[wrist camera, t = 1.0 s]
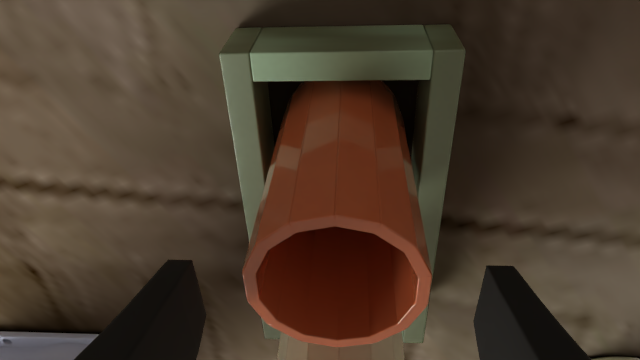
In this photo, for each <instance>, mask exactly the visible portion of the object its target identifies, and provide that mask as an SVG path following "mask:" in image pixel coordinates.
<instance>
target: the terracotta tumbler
mask: <svg viewBox="0 0 640 360" xmlns="http://www.w3.org/2000/svg"><path fill="white" fill-rule="evenodd" d="M242 276H243V281H244V287H245V292H246V298H247V301H248V303H249V304H250V305H251V306H252V307H253V308H254V310H255V311H256V312H257V313H258V314H259V315H260V316H261V318H262V319H263V320H264V321H265V322H266V323H267V324H268V325H269V326H271V327H273V328H275V329H277V330H279V331H281V332H282V333H284V334H286V335H288V336H290V337H292V338H294V339H296V340H298V341H301V342H307V343H313V344H318V345H324V346H330V347H348V346H357V345H366V344H374V343H377V342H379V341H381V340H384V339H386V338H388V337H390V336H392V335H395V334H397V333H399V332H401V331H403V330H406V328H408V327H409V326H410V325H411V324H412V323H413V322H414V320H415V319H416V318H417V317H418V316H419V315H420V314H421V313H422V311H423V310H424V309H425V308H426V307H427V305H428V303H429V296H430V290H431V283H432V271H431V265H430V260H429V255H428V250H427V244H426V239H425V234H424V228H423V223H422V218H421V212H420V207H419V202H418V196H417V191H416V186H415V180H414V175H413V170H412V164H411V159H410V154H409V148H408V143H407V138H406V132H405V127H404V122H403V116H402V114H401V112H400V108H399V105H398V102H397V100H396V98H395V96H394V94H393V93H392V91H391V90H390V89H389V87H388V86H387V85H386V84H385V83H384V82H382V81H381V80H362V81H303V82H302V83H301V84H300V85H299V86H298V87H297V88H296V90H295V91H294V92H293V94H292V96H291V97H290V100H289V102H288V105H287V108H286V111H285V113H284V115H283V118H282V122H281V126H280V130H279V133H278V137H277V141H276V145H275V149H274V152H273V156H272V160H271V164H270V167H269V171H268V175H267V179H266V182H265V186H264V190H263V194H262V197H261V201H260V205H259V209H258V213H257V216H256V220H255V224H254V228H253V231H252V235H251V239H250V243H249V246H248V250H247V254H246V258H245V261H244V265H243V269H242Z"/></svg>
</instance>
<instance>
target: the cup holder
mask: <svg viewBox="0 0 640 360" xmlns="http://www.w3.org/2000/svg"><path fill="white" fill-rule="evenodd" d="M465 53H466V50H465V48H464V47H463V45H462V43H461V41H460V40H459V38H458V36H457V34H456V33H455V31H454V29H453V27H452V26H451V25H450V24H444V25H424V26H423V25H376V26H317V27H264V28H236V29H235V30H234V32H233V33H232V35H231V36H230V38H229V39H228V41H227V42H226V44H225V45H224V47H223V48H222V50H221V51H220V53H219V57H220V63H221V69H222V76H223V82H224V88H225V94H226V101H227V107H228V113H229V119H230V125H231V132H232V138H233V144H234V150H235V156H236V163H237V169H238V175H239V181H240V188H241V194H242V200H243V206H244V212H245V219H246V225H247V231H248V237H249V243H250V239H251V235H252V231H253V228H254V224H255V220H256V216H257V213H258V209H259V205H260V201H261V197H262V194H263V190H264V186H265V182H266V179H267V175H268V171H269V167H270V164H271V160H272V156H273V152H274V149H275V146H274V136H273V127H272V117H271V107H270V98H269V88H268V81H362V80H418V89H417V100H416V111H415V122H414V134H413V145H412V156H411V164H412V170H413V175H414V180H415V186H416V191H417V196H418V202H419V207H420V212H421V218H422V223H423V228H424V234H425V239H426V244H427V250H428V255H429V260H430V265H431V271H432V279H433V272H434V265H435V258H436V251H437V244H438V238H439V231H440V224H441V217H442V210H443V203H444V197H445V190H446V183H447V176H448V169H449V162H450V156H451V149H452V142H453V135H454V128H455V121H456V115H457V108H458V101H459V94H460V87H461V80H462V74H463V67H464V60H465ZM431 285H432V283H431ZM430 292H431V290H430ZM429 299H430V296H429ZM428 306H429V303H428V305H427V307H426V308H425V309H424V310H423V311H422V313H421V314H420V315H419V316H418V317H417V318H416V319H415V320H414V322H413V323H412V324H411V325H410V326H409V327H408V328H406V330H403V331H402V339H403V342H404V343H423V340H424V333H425V326H426V320H427V313H428ZM262 324H263V331H264V337H265V339H280V336H281V331H279V330H277V329H275V328H273V327H271V326H269V325H268V324H267V323H266V322H265V321H264V320H263V319H262Z"/></svg>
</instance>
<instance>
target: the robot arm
mask: <svg viewBox="0 0 640 360" xmlns="http://www.w3.org/2000/svg"><path fill="white" fill-rule="evenodd" d="M205 318H206V311H205V307H204V304H203V300H202V296H201V292H200V288H199V285H198V281H197V277H196V273H195V269H194V266H193V262H192V260H168V261H167V262H166V263H165V264H164V265H163V266H162V267H161V268H160V269H159V270H158V271H157V273H156V274H155V275H154V276H153V277H152V278H151V279H150V280H149V282H148V283H147V284H146V285H145V286H144V287H143V288H142V289H141V290H140V292H139V293H138V294H137V295H136V296H135V297H134V298H133V299H132V300H131V302H130V303H129V304H128V305H127V306H126V307H125V308H124V309H123V310H122V311H121V312H120V313H119V314H118V315H117V316H116V318H115V319H114V320H113V321H112V322H111V323H110V324H109V325H108V326H107V327H106V328H105V329H104V330H103V331H102V332H101V333H100V334H78V333H42V332H6V331H0V360H196V358H197V355H198V351H199V347H200V342H201V338H202V333H203V328H204V323H205ZM474 327H475V333H476V340H477V346H478V351H479V357H480V360H591V359H590V358H589V357H588V355H587V354H586V353H585V352H584V351H583V350H582V349H581V348H580V347H579V345H578V344H577V343H576V342H575V341H574V340H573V338H572V337H571V336H570V335H569V334H568V333H567V332H566V330H565V329H564V328H563V327H562V326H561V325H560V323H559V322H558V321H557V320H556V319H555V317H554V316H553V315H552V314H551V313H550V311H549V310H548V309H547V308H546V306H545V305H544V304H543V303H542V302H541V300H540V299H539V298H538V297H537V295H536V294H535V293H534V291H533V290H532V289H531V288H530V286H529V285H528V284H527V283H526V281H525V280H524V279H523V277H522V276H521V275H520V274H519V272H518V271H517V270H516V269H515V268H514V267H513V266H486V271H485V275H484V279H483V283H482V288H481V292H480V296H479V300H478V305H477V309H476V313H475V317H474Z"/></svg>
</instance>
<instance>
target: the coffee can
mask: <svg viewBox="0 0 640 360" xmlns="http://www.w3.org/2000/svg"><path fill="white" fill-rule="evenodd" d="M591 360H640V358H636V357H622V356H611V357H599V358H593V359H591Z"/></svg>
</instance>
